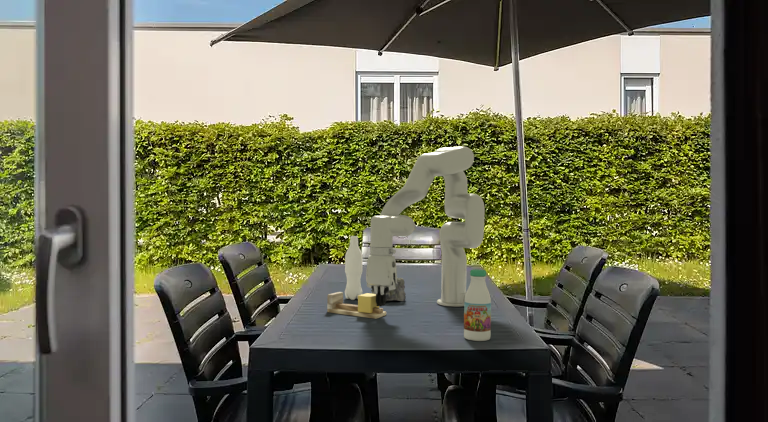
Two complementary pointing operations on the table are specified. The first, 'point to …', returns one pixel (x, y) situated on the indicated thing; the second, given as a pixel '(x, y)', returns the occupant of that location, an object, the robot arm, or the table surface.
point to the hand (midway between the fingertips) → (380, 305)
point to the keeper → (367, 302)
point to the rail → (355, 313)
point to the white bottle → (353, 269)
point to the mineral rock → (396, 291)
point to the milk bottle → (477, 308)
